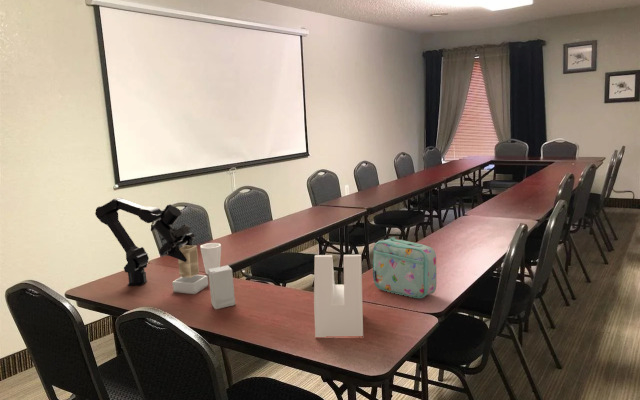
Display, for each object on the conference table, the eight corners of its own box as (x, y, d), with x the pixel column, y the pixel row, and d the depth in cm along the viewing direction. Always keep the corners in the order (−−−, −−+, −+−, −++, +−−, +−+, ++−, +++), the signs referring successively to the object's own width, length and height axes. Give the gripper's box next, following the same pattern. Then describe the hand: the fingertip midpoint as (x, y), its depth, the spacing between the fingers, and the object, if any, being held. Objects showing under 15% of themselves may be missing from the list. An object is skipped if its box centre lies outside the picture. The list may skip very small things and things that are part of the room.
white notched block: (363, 339, 163) (361, 264, 158) (315, 339, 164) (312, 264, 159) (362, 315, 182) (360, 247, 177) (319, 315, 183) (317, 248, 178)
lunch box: (367, 288, 208) (366, 237, 204) (382, 281, 215) (382, 232, 211) (424, 303, 190) (424, 248, 186) (438, 295, 197) (439, 242, 193)
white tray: (173, 291, 212) (172, 281, 211) (187, 283, 222) (186, 273, 221) (194, 294, 209) (193, 283, 208) (208, 285, 218) (207, 275, 217)
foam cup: (218, 276, 231) (215, 248, 228) (199, 275, 232) (196, 248, 230) (225, 269, 240) (224, 243, 237) (207, 269, 242) (205, 242, 239)
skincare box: (231, 300, 200) (228, 264, 197) (235, 305, 195) (233, 268, 192) (210, 305, 196) (207, 268, 194) (214, 310, 191) (211, 272, 188)
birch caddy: (179, 276, 212) (177, 248, 210) (188, 272, 218) (185, 245, 215) (190, 277, 210) (188, 249, 208) (199, 273, 216) (196, 245, 213)
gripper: (162, 224, 202) (187, 252, 200) (190, 214, 220) (213, 241, 218) (148, 242, 207) (172, 270, 205) (176, 231, 224) (199, 257, 222)
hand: (190, 259), depth 212 cm, fingers closed on birch caddy, 6 cm apart
